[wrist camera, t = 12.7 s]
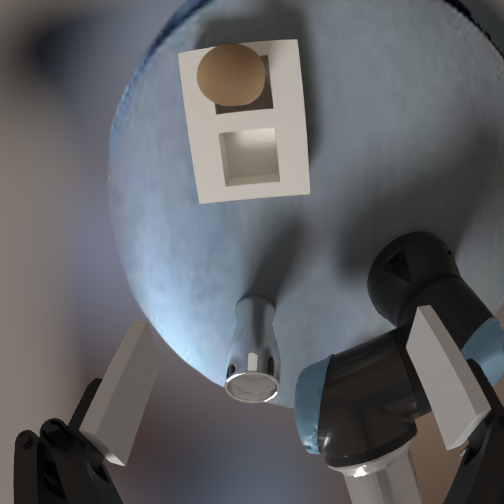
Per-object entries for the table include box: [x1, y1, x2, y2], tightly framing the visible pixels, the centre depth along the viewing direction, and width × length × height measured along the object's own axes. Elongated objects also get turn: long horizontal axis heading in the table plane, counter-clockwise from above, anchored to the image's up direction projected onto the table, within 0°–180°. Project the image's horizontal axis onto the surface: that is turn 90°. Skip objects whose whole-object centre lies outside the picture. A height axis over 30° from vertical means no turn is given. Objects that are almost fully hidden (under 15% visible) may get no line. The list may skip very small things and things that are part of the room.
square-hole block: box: [178, 39, 310, 204], centre depth 30 cm, size 12×17×6 cm
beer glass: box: [225, 296, 281, 403], centre depth 39 cm, size 7×7×15 cm
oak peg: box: [197, 43, 265, 106], centre depth 23 cm, size 4×4×15 cm
